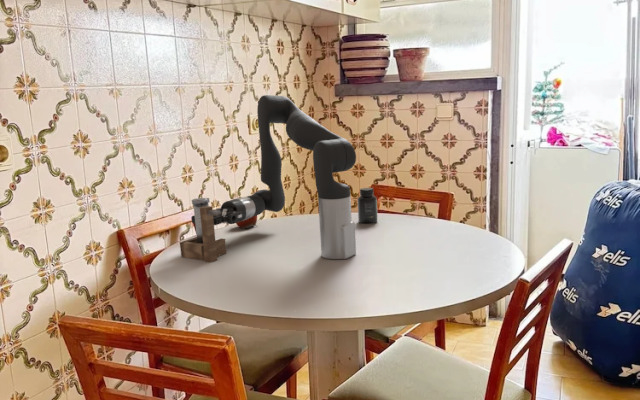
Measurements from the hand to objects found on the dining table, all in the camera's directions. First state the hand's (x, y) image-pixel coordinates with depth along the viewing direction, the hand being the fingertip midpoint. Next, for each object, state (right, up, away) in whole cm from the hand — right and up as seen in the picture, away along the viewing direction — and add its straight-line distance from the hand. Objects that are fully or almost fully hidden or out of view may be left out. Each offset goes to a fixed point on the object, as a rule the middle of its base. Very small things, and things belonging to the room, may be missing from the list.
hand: (202, 220), depth 169 cm
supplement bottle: (+53, -2, +32) cm, 62 cm away
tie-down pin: (+1, -10, +2) cm, 11 cm away
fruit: (+9, -4, +35) cm, 37 cm away
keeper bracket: (+2, -11, 0) cm, 11 cm away
